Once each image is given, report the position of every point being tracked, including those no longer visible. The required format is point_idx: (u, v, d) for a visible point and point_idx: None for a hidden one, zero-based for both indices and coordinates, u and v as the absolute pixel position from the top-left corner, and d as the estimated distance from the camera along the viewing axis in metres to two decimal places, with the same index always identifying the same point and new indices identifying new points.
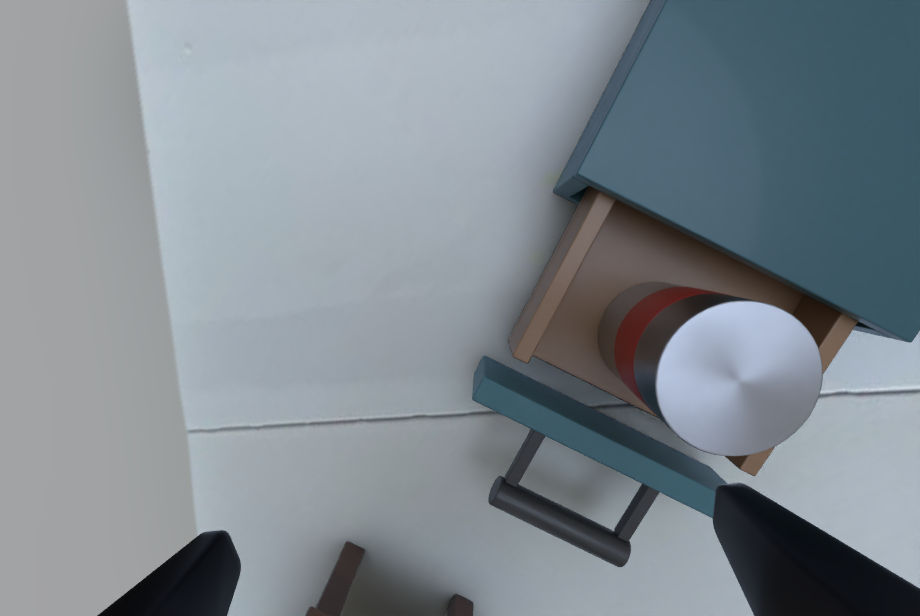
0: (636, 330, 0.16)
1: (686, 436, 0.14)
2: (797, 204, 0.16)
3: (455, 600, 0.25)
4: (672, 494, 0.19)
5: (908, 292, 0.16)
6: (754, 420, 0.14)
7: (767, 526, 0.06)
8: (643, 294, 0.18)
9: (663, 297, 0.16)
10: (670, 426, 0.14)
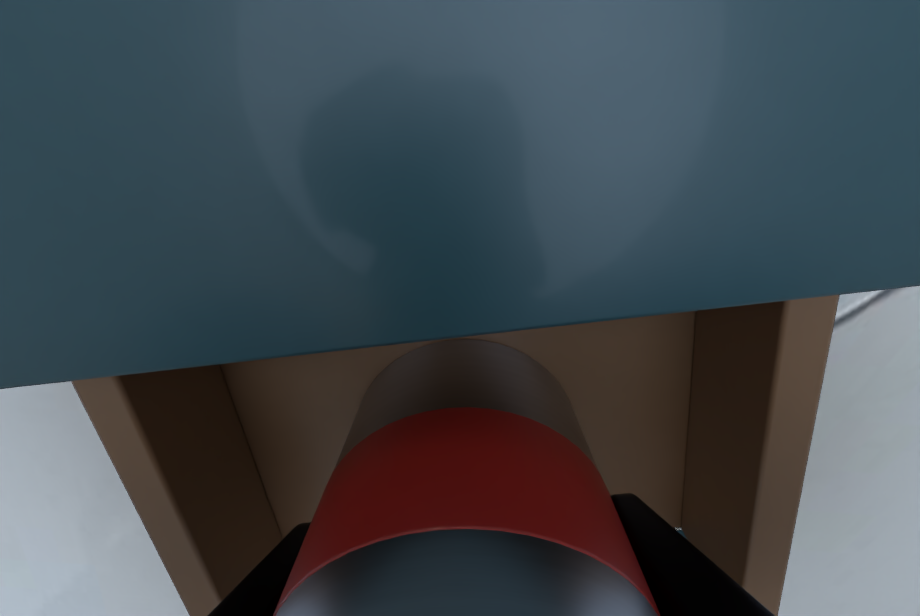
0: None
1: None
2: (445, 112, 0.04)
3: None
4: None
5: None
6: None
7: (639, 537, 0.06)
8: None
9: (304, 539, 0.06)
10: None
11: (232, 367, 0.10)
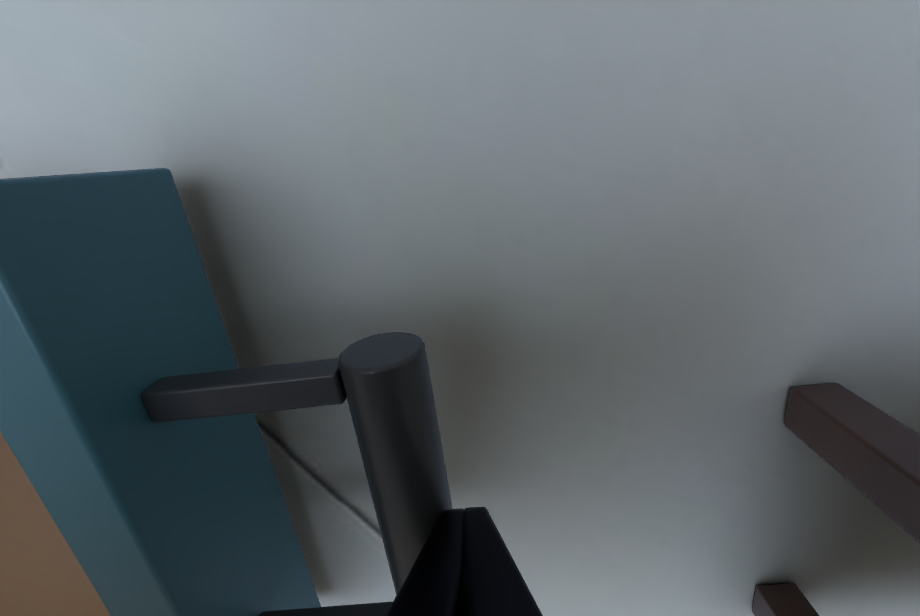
0: None
1: None
2: None
3: (797, 435, 0.11)
4: (75, 444, 0.06)
5: None
6: None
7: (468, 552, 0.07)
8: None
9: None
10: None
11: None
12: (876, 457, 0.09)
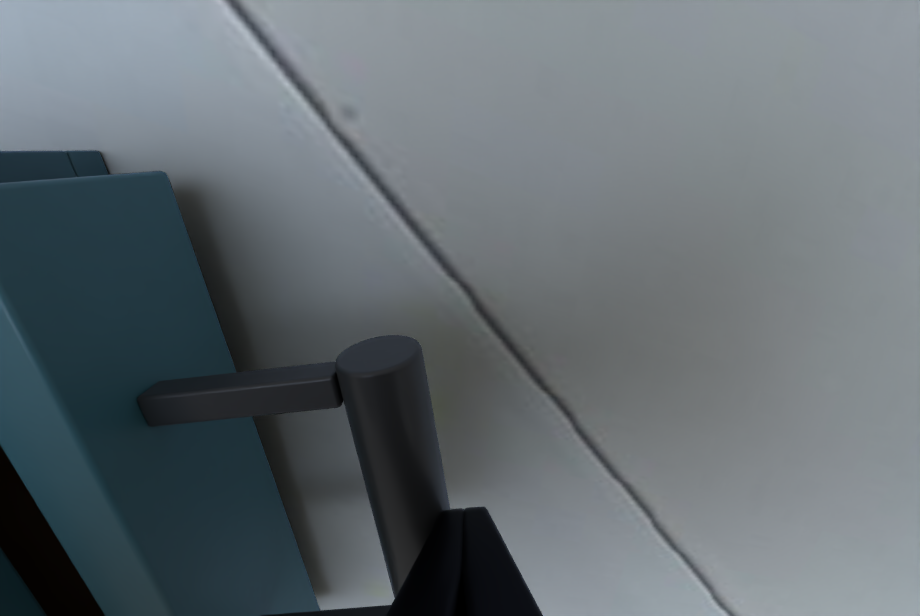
0: None
1: None
2: None
3: None
4: (70, 450, 0.06)
5: None
6: None
7: (468, 552, 0.07)
8: None
9: None
10: None
11: None
12: None
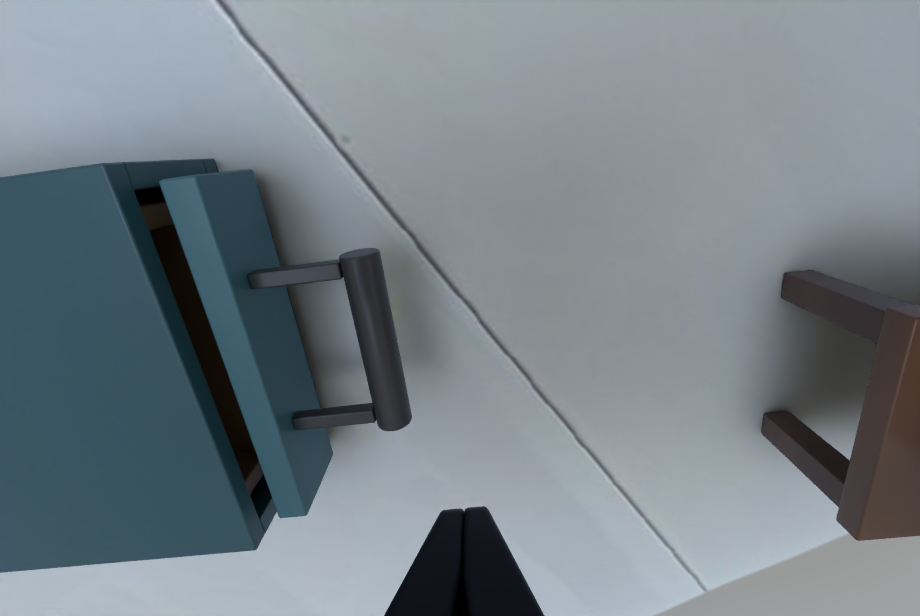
0: None
1: None
2: (112, 383, 0.14)
3: (789, 301, 0.18)
4: (226, 288, 0.14)
5: (68, 215, 0.12)
6: None
7: (469, 552, 0.07)
8: None
9: None
10: None
11: None
12: (829, 294, 0.16)
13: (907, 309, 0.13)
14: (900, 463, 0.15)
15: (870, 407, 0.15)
